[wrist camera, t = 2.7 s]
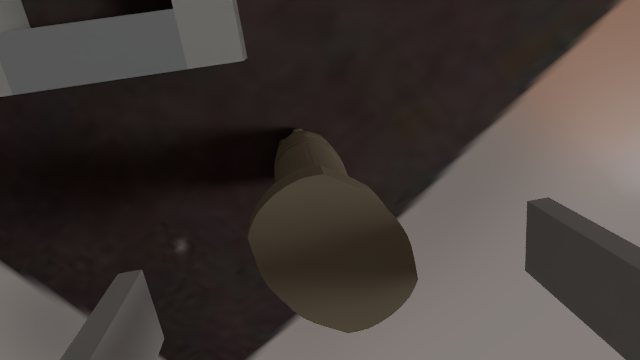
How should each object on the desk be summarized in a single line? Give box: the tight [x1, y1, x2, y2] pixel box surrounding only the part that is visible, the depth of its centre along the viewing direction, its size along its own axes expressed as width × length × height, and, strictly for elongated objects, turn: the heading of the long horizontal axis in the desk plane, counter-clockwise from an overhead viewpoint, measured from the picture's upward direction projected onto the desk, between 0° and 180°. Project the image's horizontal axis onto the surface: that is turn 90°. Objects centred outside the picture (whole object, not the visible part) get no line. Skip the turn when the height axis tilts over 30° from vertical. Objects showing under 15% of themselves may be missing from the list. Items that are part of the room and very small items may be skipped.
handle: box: [248, 128, 418, 333], centre depth 21 cm, size 5×6×15 cm
